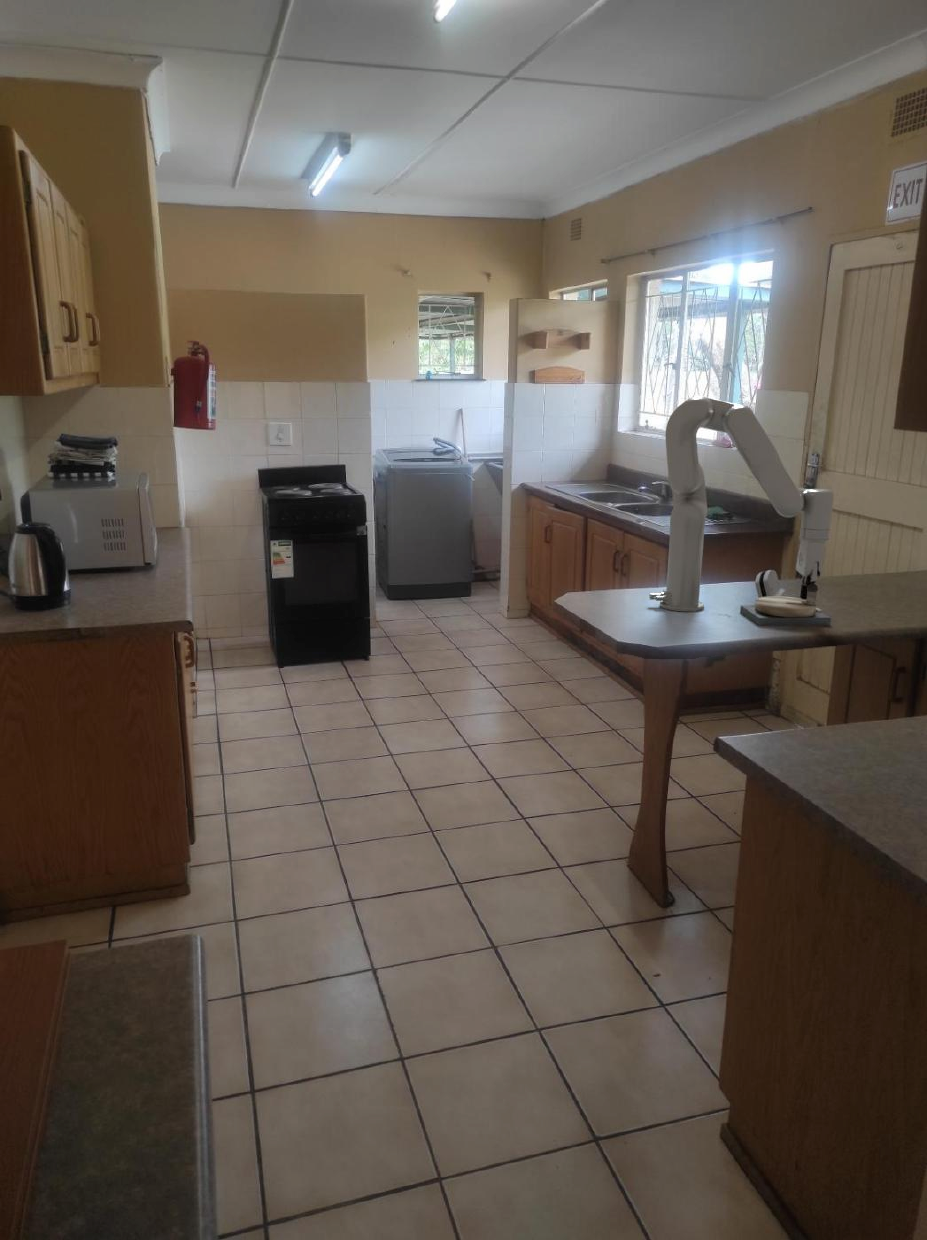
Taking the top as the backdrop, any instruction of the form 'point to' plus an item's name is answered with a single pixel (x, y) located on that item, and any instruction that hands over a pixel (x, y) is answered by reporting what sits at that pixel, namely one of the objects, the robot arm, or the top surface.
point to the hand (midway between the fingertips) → (806, 598)
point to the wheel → (789, 604)
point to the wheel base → (783, 618)
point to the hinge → (768, 584)
